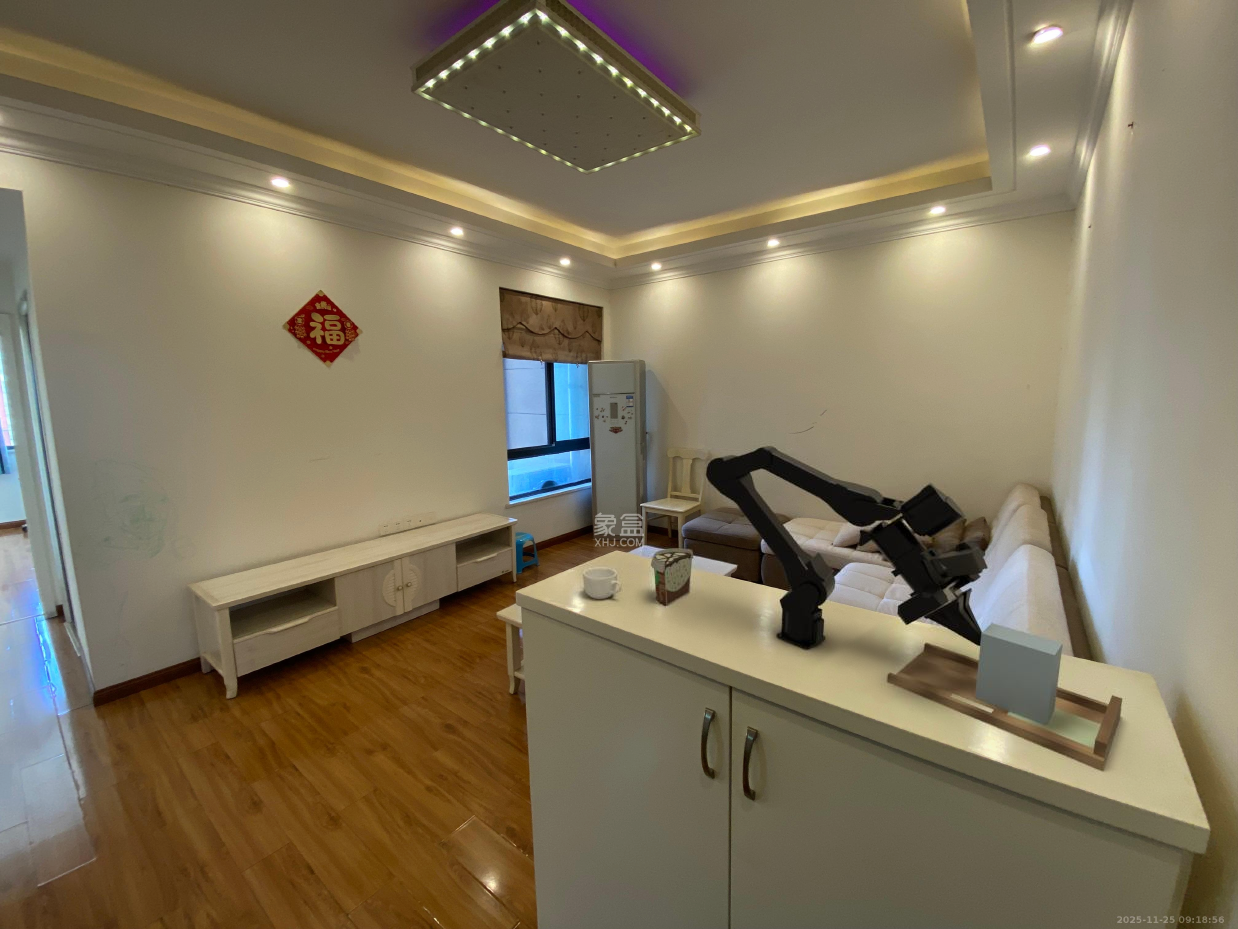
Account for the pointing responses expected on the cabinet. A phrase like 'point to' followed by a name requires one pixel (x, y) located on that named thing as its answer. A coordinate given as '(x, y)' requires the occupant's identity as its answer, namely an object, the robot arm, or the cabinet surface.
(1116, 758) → the cabinet surface
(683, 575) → the food container
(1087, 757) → the tray
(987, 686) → the slate block
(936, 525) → the robot arm
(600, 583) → the teacup
